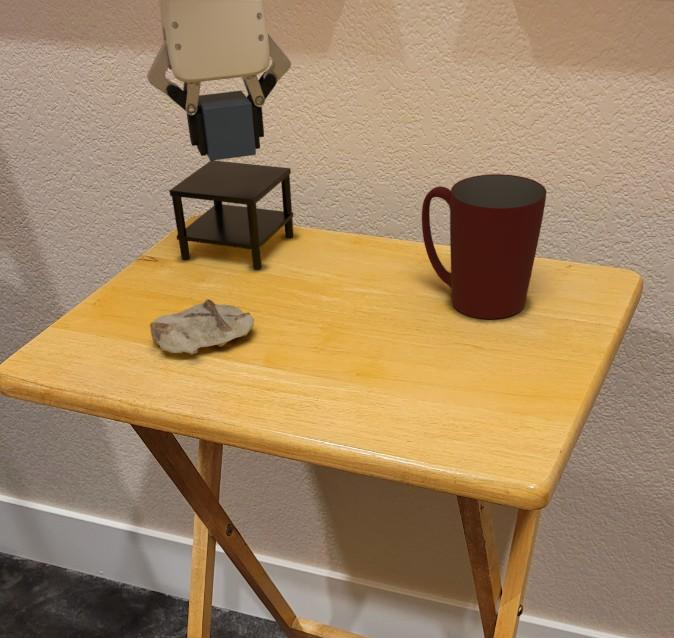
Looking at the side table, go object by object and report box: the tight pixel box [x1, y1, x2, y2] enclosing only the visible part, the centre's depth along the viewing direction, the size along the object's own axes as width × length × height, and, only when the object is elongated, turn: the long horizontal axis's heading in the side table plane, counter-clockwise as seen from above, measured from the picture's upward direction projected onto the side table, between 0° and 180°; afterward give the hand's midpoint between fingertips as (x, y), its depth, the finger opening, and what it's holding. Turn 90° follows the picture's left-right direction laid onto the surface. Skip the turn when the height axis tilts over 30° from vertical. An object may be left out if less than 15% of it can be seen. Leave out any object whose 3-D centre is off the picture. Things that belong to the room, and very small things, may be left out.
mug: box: [421, 173, 547, 320], centre depth 87 cm, size 12×9×11 cm
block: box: [198, 90, 257, 161], centre depth 93 cm, size 5×5×5 cm
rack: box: [169, 160, 295, 271], centre depth 99 cm, size 10×10×8 cm
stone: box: [149, 298, 255, 355], centre depth 85 cm, size 10×7×3 cm
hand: (228, 146), depth 95 cm, fingers closed on block, 5 cm apart
